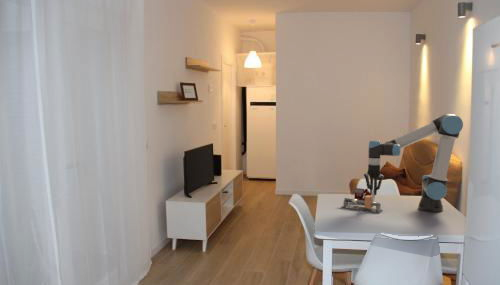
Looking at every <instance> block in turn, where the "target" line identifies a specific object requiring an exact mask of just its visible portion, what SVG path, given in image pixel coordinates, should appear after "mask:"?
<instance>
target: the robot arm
mask: <svg viewBox="0 0 500 285" xmlns="http://www.w3.org/2000/svg"><path fill="white" fill-rule="evenodd" d="M463 127H464V122H463V119H462V118H461V117H460V116H458V115H457V114H452V113H446V114H443V115H441V116H438V117H437V118H435V119H433V120H432V121H430V123H428V124H426V125H424V126H421V127H419V128H416V129H414V130H412V131H409V132H408V133H406V134H403V135H401V136H398V137H396V138H394V139H391V140H389V141H385V142H384V143H382V141H381V140H376V139H375V140H370V141H369V143H368V161H367V162H368V166H367V172H366V173H364V174H363V176H364V178H365V183H366V187H367V188H366V189H368V190H369V192H370V195H371V200H373V201H374V200H376V195H378V194H377V192H378V190H379V189H380V188H381V184H382V181H383V179H384V177H385V175H383V174H381V173H382V172H381V157H382V156H387V157H388V156H392V157H395V156H396V157H398V156H400V155H401V149H403V148H405V147H408V146H410V145H412V144H414V143H417V142H420V141H422V140H424V139H426V138H429V137H432V136H433V135H438V136H439V137H440V138H439V140H438V145H437V149H436V154H435V157H434V162H433V166H432V171H431V173H430V174H424V175H422V178H421V181H422V182H421V198H420V201H419V203H418V210H421V211H423V212H430V213H440V212H443V211H444V207H443V202H442V199H443V198H445V196H446V195H447V193H448V189H447V184H448V181H449V180H448V178H447V174H448V169H449V165H450V161H451V159H452V158H451V157H452V153H453V149H454V146H455V140H457V139H458V138H459V136H460V132H461V131H462V130H463ZM378 178H379V179H378Z"/></svg>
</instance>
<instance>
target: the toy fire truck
mask: <svg viewBox="0 0 500 285" xmlns="http://www.w3.org/2000/svg"><path fill="white" fill-rule="evenodd" d="M353 192H354V198H353V199H357V200H363V201H365V197H366V196H367V195H369V196H372V195H370V190H369V189H368V188H365V189H364V188H360V187H354V188H353Z"/></svg>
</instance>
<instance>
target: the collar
mask: <svg viewBox="0 0 500 285" xmlns="http://www.w3.org/2000/svg"><path fill="white" fill-rule="evenodd" d="M371 196H372V195H371ZM371 196H369V195H367V196H366V197H365V204H364V207H365V208H369V209H371V208H374V206H373V205H371V202H374V200H371Z"/></svg>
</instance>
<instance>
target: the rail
mask: <svg viewBox="0 0 500 285" xmlns="http://www.w3.org/2000/svg"><path fill="white" fill-rule="evenodd" d="M349 203H352V204H357V205H352V204H349ZM358 204H360V205H365V201H363V200H357V199H354V198H347V197H344V199H343V205H342V206H341V207H340V208H341V209H345V210H352V211H357V212H359V211H360V212H363V213H364V212H366V213H371V214H377V215H379V214H381V213H382V212H383V211H384V210H383V209H382V207H381V203H380V202H375V201H373V202H371V205H373V207H372V208H371V209H369V208H365V206H359V205H358Z"/></svg>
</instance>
